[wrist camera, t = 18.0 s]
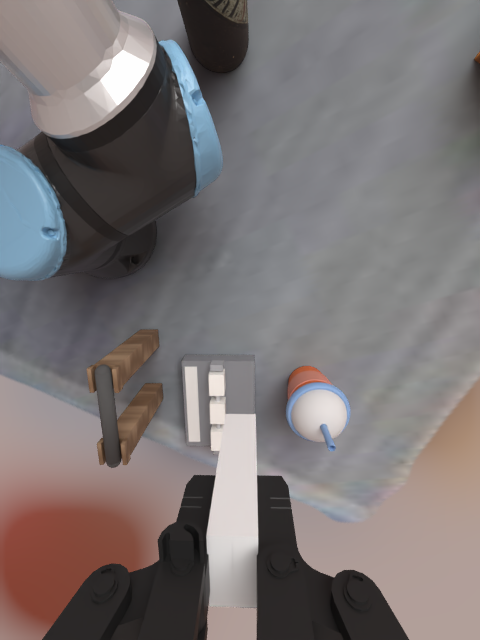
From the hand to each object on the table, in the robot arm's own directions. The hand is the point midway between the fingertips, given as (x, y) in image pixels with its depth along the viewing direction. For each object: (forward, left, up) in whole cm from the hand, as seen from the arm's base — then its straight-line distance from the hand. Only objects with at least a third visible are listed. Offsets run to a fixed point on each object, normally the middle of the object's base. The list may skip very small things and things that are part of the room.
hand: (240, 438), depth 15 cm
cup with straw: (+14, +10, -37) cm, 40 cm away
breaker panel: (+17, -5, -36) cm, 40 cm away
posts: (+11, -17, -36) cm, 42 cm away
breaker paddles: (+17, -5, -33) cm, 37 cm away
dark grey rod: (+11, -17, -21) cm, 29 cm away
